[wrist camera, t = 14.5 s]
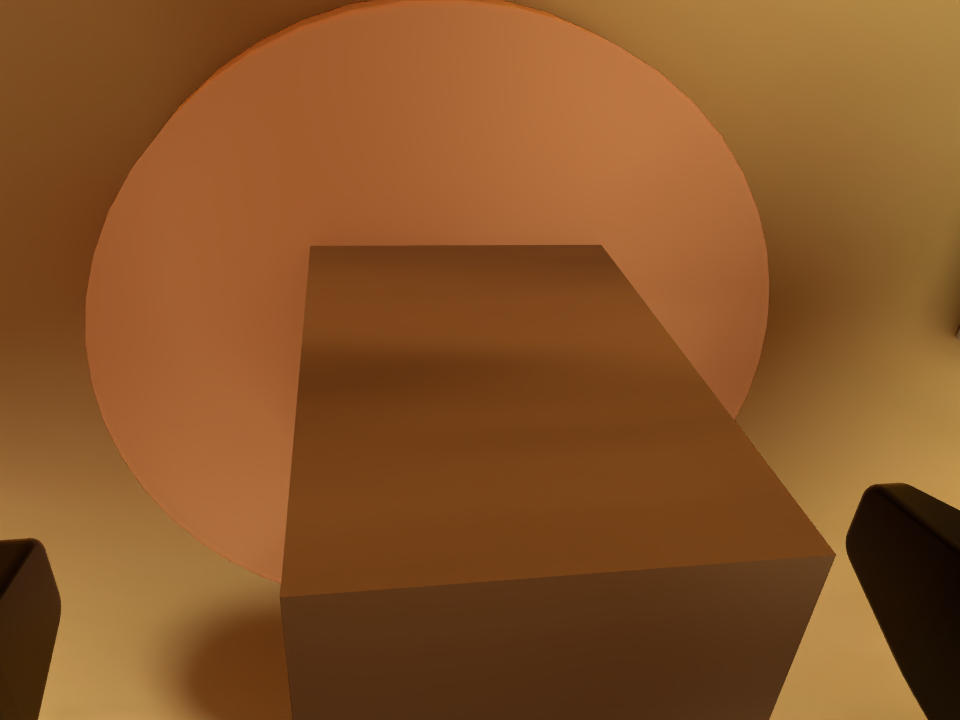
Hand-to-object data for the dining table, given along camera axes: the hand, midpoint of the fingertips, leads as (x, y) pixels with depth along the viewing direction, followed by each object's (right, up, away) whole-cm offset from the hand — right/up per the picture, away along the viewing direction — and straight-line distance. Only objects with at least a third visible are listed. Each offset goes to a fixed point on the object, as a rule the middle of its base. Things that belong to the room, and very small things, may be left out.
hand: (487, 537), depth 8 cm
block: (0, +2, +3) cm, 4 cm away
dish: (-1, +2, +4) cm, 5 cm away
